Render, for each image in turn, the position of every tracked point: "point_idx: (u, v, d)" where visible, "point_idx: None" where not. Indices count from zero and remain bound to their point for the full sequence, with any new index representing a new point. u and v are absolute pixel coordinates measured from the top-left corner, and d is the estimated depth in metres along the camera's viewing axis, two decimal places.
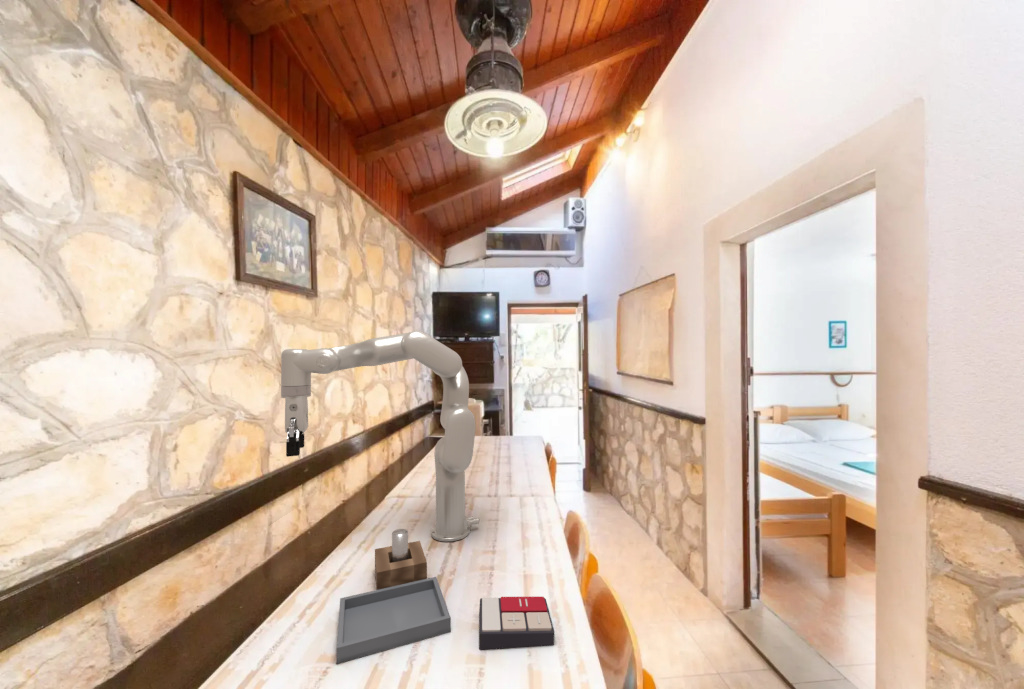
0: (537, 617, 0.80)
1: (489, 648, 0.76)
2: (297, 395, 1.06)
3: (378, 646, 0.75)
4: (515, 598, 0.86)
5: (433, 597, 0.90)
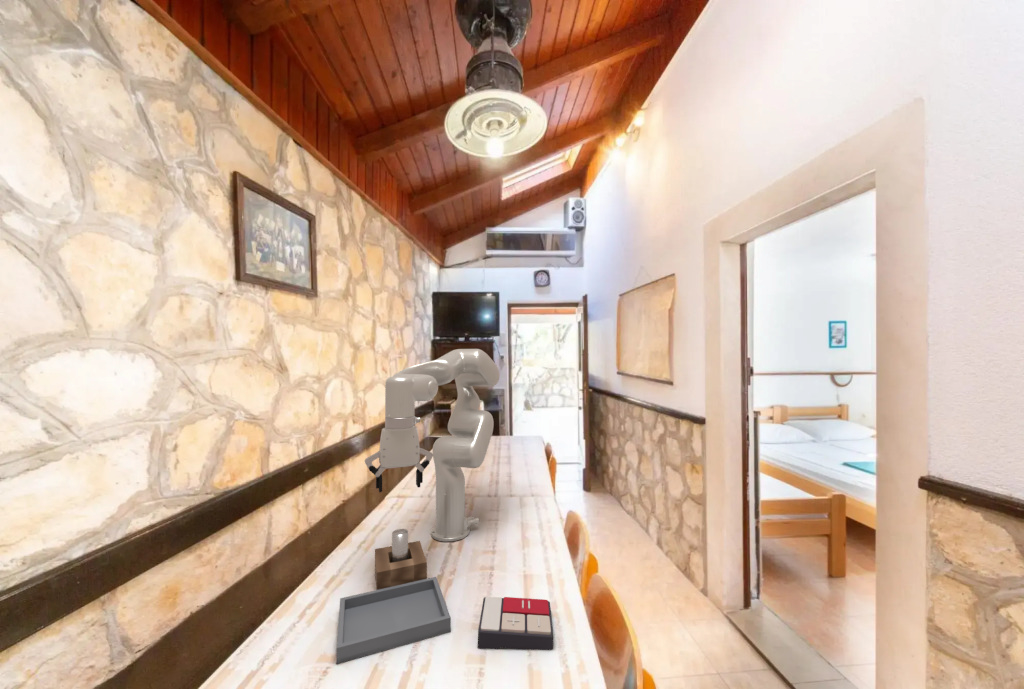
0: (538, 620, 0.79)
1: (487, 647, 0.76)
2: None
3: (378, 646, 0.75)
4: (518, 599, 0.85)
5: (433, 597, 0.90)
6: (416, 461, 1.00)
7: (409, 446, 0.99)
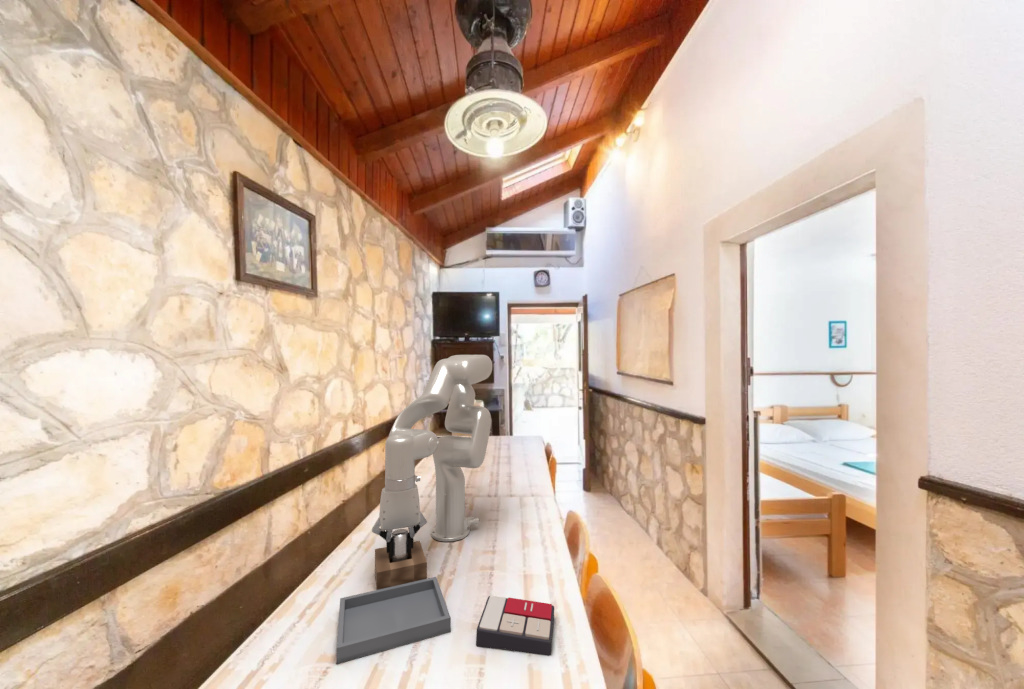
0: (538, 624, 0.78)
1: (485, 646, 0.76)
2: None
3: (378, 646, 0.75)
4: (522, 601, 0.85)
5: (433, 597, 0.90)
6: (416, 521, 1.00)
7: (409, 507, 0.99)
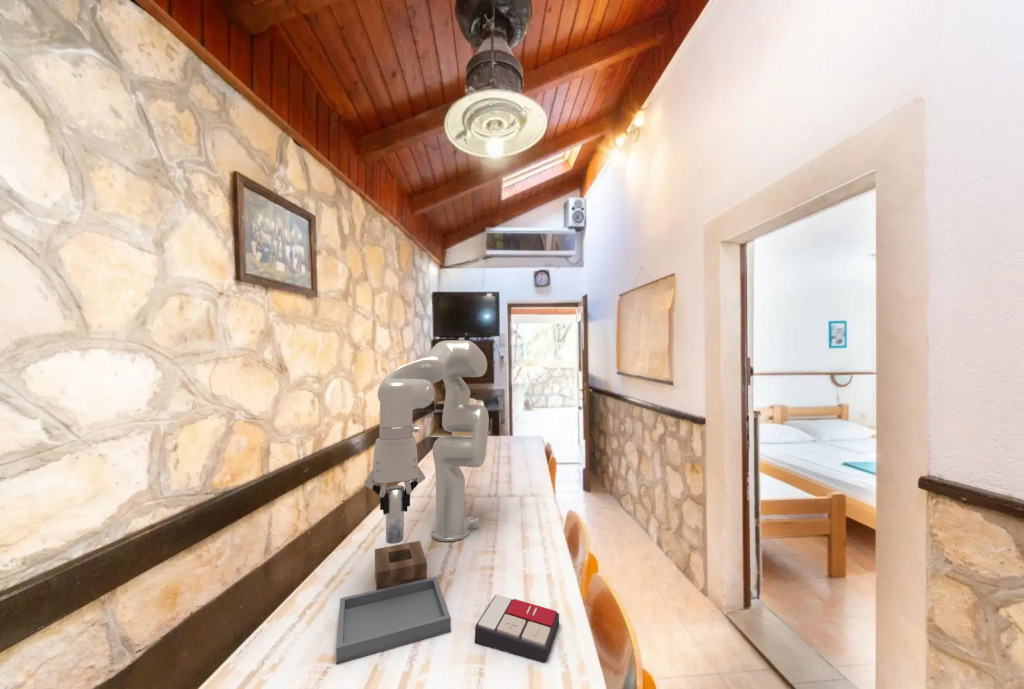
0: (536, 629, 0.76)
1: (483, 644, 0.77)
2: None
3: (378, 646, 0.75)
4: (526, 604, 0.84)
5: (433, 597, 0.90)
6: (414, 476, 0.90)
7: (406, 459, 0.89)
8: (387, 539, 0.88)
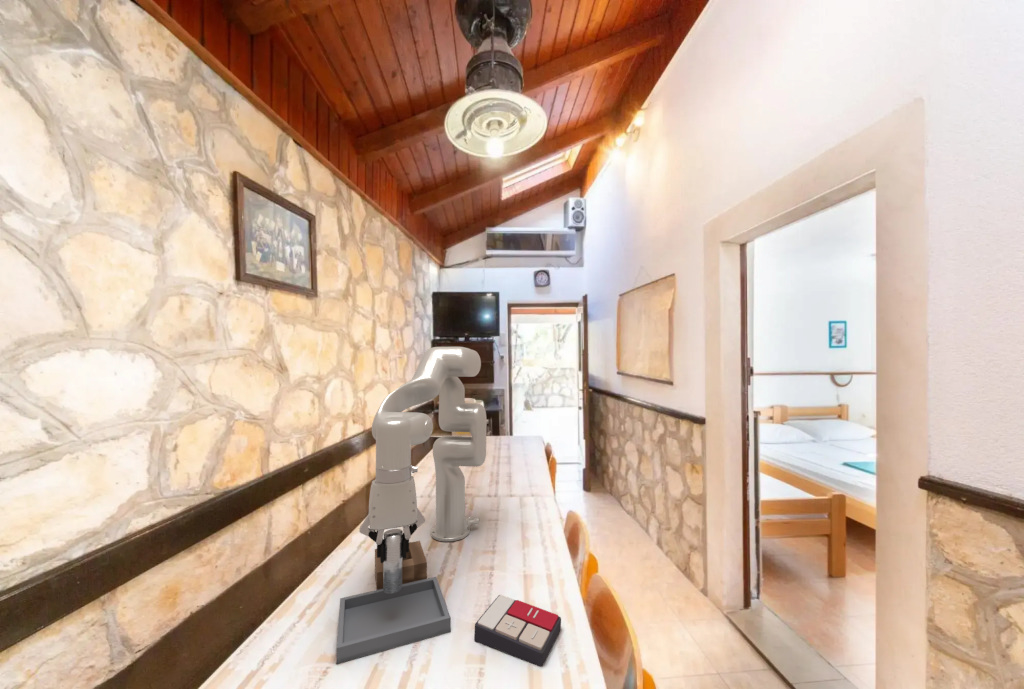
0: (535, 632, 0.76)
1: (482, 642, 0.77)
2: None
3: (378, 646, 0.75)
4: (529, 606, 0.83)
5: (433, 597, 0.90)
6: (413, 520, 0.84)
7: (404, 503, 0.83)
8: (385, 589, 0.82)
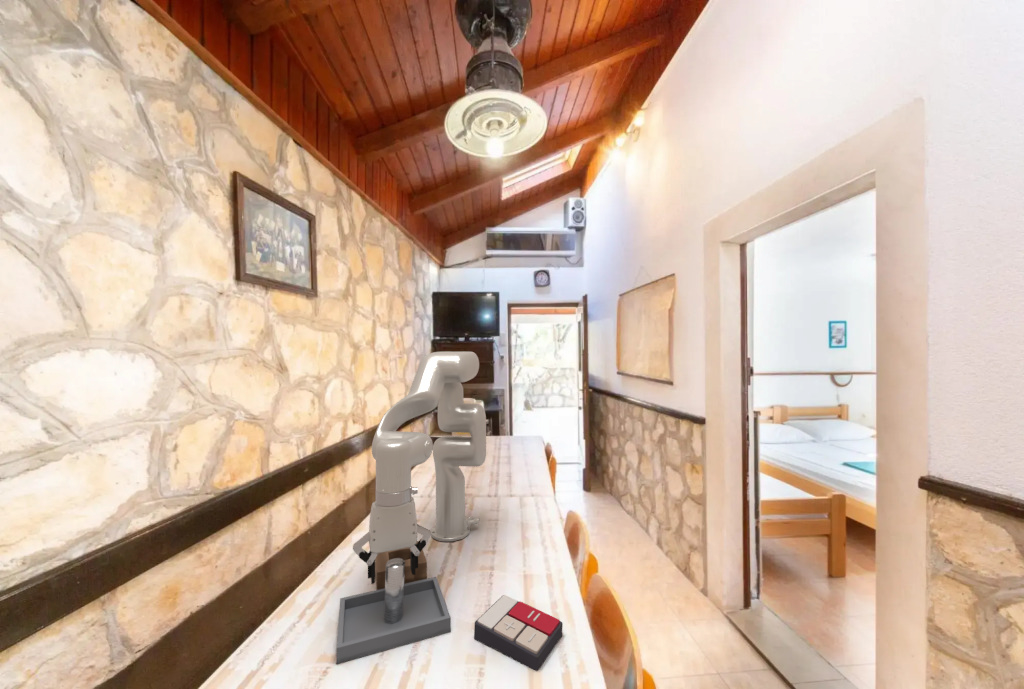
0: (533, 635, 0.75)
1: (481, 641, 0.77)
2: None
3: (378, 646, 0.75)
4: (531, 608, 0.82)
5: (433, 597, 0.90)
6: (413, 542, 0.84)
7: (404, 525, 0.83)
8: (385, 618, 0.82)
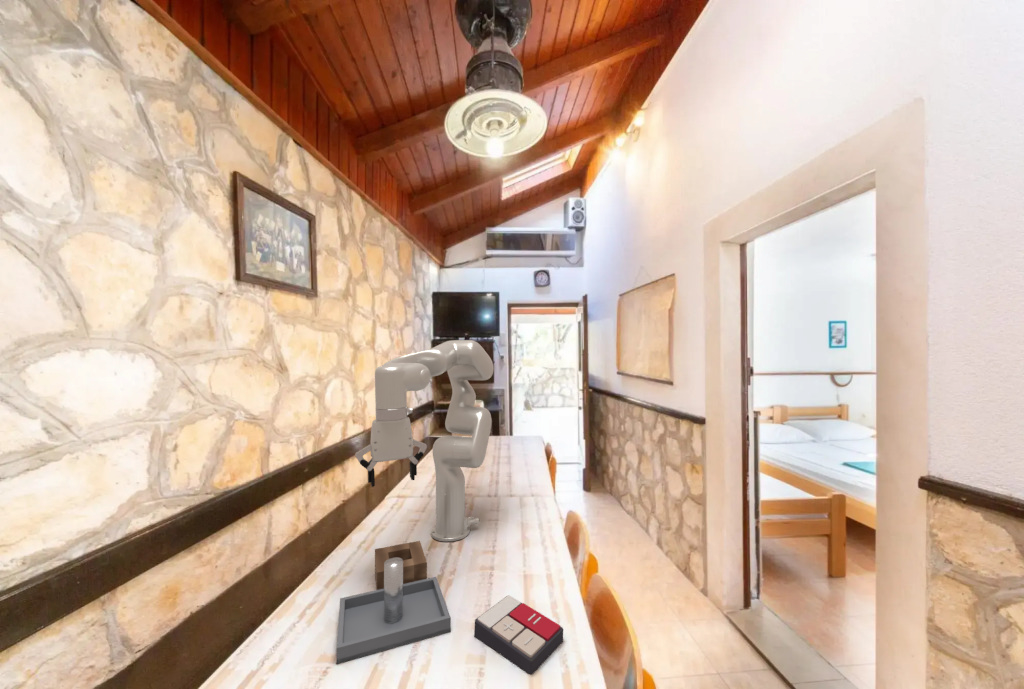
0: (530, 639, 0.74)
1: (480, 639, 0.78)
2: None
3: (378, 646, 0.75)
4: (533, 611, 0.81)
5: (433, 597, 0.90)
6: (409, 453, 0.96)
7: (402, 438, 0.95)
8: (385, 618, 0.82)
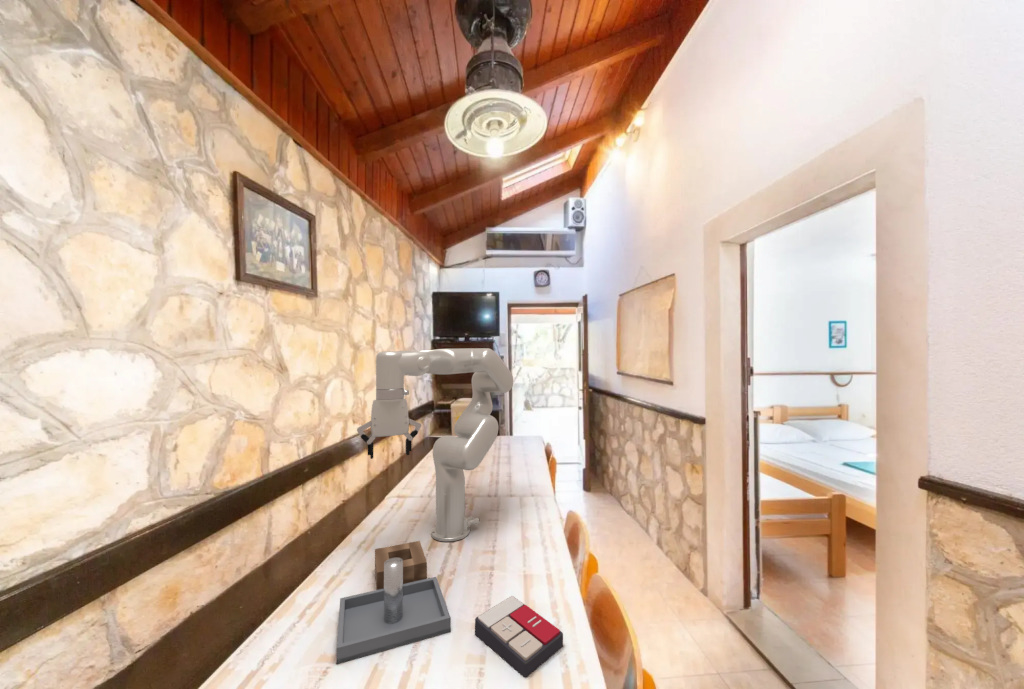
0: (527, 641, 0.73)
1: (479, 637, 0.78)
2: None
3: (378, 646, 0.75)
4: (534, 614, 0.81)
5: (433, 597, 0.90)
6: (405, 430, 1.07)
7: (398, 416, 1.06)
8: (385, 618, 0.82)
